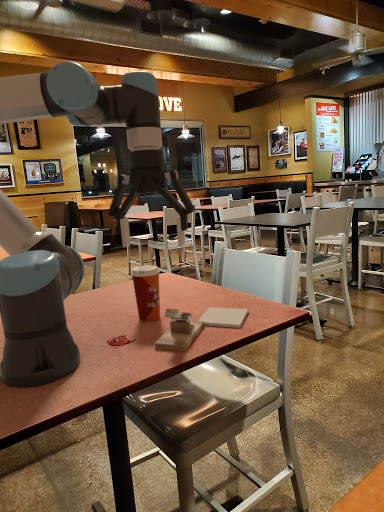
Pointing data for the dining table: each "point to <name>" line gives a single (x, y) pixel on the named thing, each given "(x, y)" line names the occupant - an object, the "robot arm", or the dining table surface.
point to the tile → (224, 317)
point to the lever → (178, 315)
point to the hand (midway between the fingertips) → (153, 245)
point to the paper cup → (147, 292)
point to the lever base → (179, 335)
